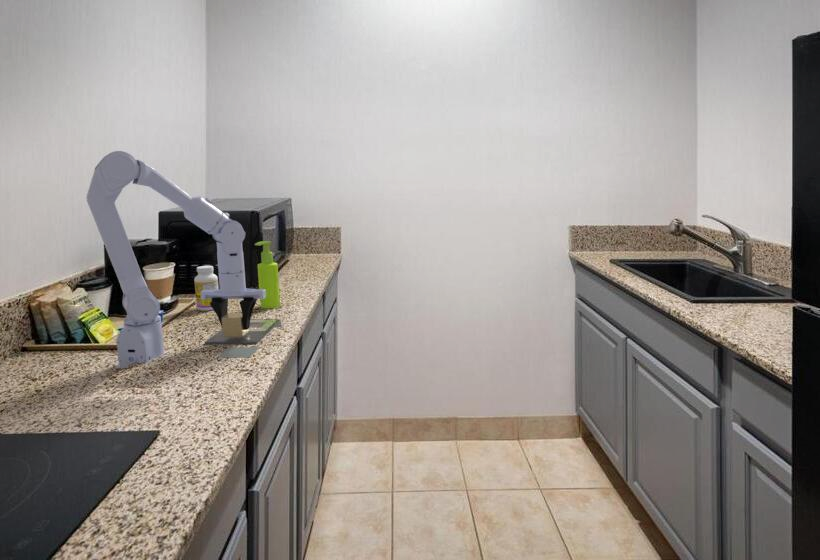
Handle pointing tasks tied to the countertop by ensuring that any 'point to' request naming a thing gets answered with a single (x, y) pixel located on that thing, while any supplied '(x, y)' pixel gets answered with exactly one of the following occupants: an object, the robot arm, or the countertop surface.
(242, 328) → the block
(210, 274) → the supplement bottle
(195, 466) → the countertop surface
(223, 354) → the grey square pad
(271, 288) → the soap dispenser
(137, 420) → the countertop surface
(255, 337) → the plate
